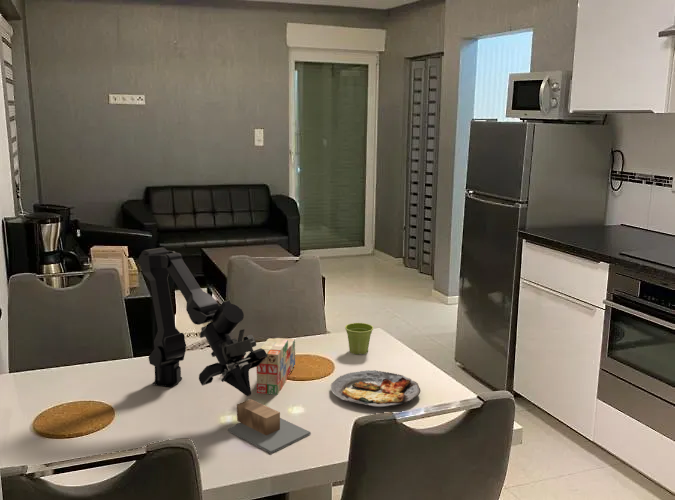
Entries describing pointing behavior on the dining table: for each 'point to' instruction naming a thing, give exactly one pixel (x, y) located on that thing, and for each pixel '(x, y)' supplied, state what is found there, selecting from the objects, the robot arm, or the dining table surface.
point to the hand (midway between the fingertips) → (249, 395)
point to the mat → (271, 435)
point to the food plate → (375, 388)
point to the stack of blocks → (275, 365)
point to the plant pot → (358, 337)
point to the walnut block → (258, 417)
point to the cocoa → (241, 337)
